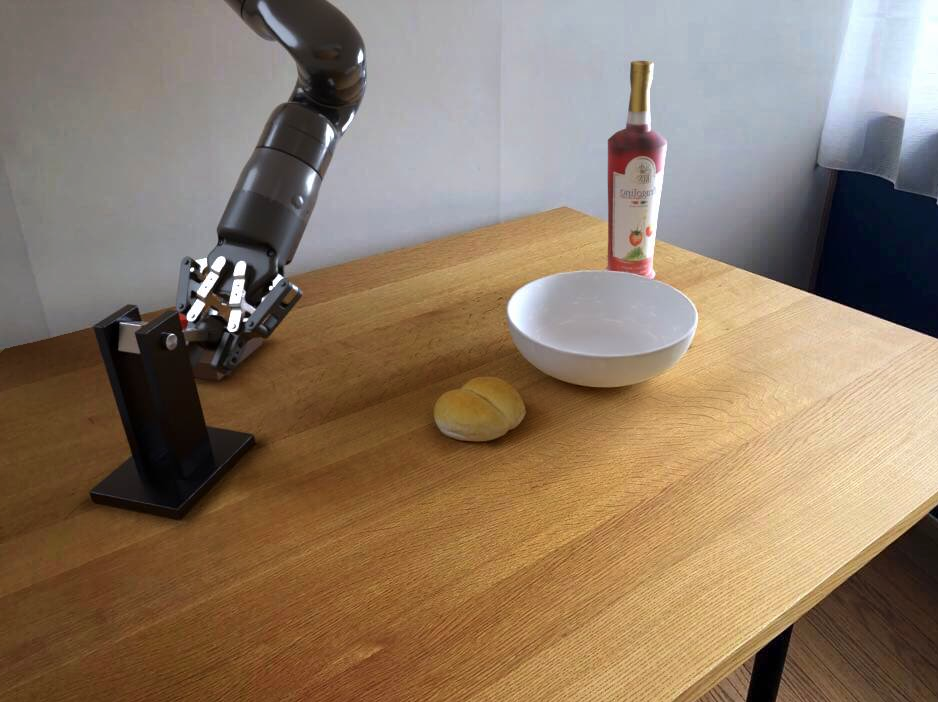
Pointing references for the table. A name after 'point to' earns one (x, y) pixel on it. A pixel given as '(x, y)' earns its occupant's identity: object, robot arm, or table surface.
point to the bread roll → (479, 410)
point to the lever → (204, 332)
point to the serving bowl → (601, 326)
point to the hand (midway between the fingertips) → (202, 366)
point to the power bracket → (161, 421)
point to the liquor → (635, 181)
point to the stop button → (183, 320)
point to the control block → (206, 359)
